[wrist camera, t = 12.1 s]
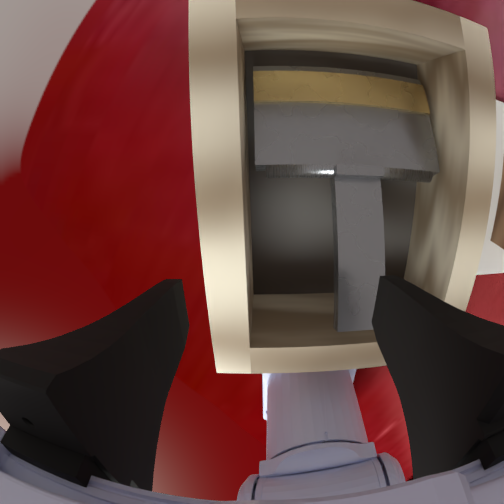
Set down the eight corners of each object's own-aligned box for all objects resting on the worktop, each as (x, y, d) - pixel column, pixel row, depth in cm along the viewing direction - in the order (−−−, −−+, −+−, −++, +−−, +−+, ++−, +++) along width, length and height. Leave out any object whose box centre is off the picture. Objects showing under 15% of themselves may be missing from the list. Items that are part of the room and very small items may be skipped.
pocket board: (416, 307, 21) (448, 355, 16) (227, 315, 22) (216, 372, 17) (436, 45, 14) (487, 27, 8) (211, 26, 15) (189, -12, 9)
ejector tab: (436, 318, 14) (450, 323, 13) (258, 329, 15) (257, 337, 13) (413, 87, 15) (423, 75, 13) (254, 75, 15) (252, 60, 14)
